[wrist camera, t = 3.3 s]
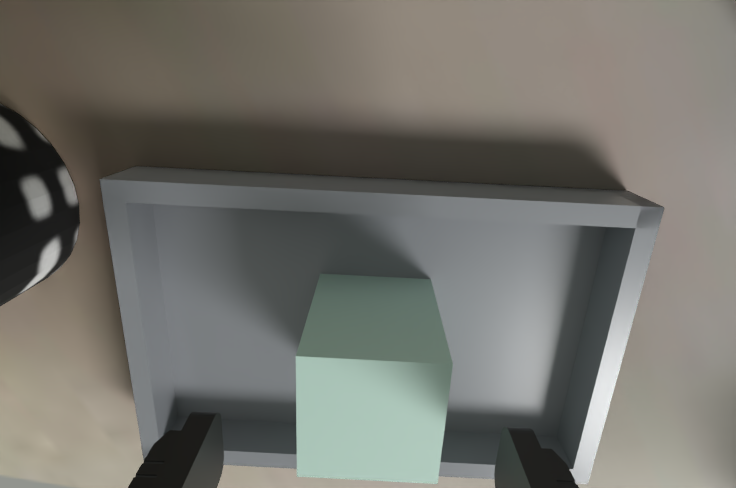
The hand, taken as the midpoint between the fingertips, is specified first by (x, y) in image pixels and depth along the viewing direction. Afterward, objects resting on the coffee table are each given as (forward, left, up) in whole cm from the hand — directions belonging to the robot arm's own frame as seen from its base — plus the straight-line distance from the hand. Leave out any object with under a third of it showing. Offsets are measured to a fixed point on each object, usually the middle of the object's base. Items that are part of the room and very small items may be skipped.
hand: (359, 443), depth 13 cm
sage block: (0, 0, -7) cm, 7 cm away
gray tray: (0, 0, -8) cm, 8 cm away
